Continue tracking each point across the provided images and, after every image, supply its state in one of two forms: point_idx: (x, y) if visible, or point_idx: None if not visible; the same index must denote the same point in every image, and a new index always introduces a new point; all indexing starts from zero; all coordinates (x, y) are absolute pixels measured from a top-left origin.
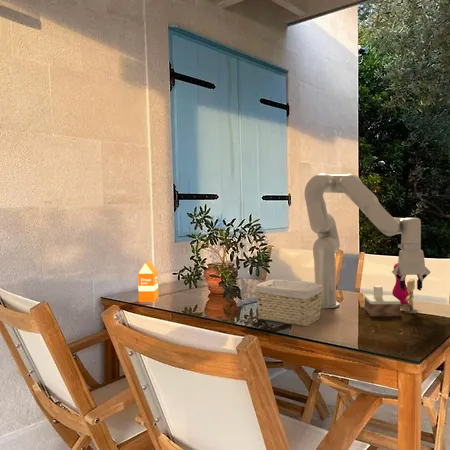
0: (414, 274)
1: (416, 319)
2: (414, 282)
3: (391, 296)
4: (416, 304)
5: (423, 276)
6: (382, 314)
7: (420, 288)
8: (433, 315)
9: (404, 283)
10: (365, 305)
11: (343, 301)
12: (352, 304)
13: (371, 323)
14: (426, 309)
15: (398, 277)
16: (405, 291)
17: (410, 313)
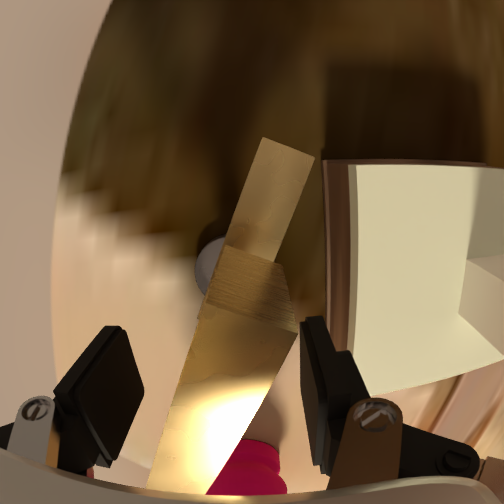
0: (91, 479)
1: (235, 86)
2: (154, 458)
3: (374, 358)
4: None
5: (6, 445)
6: (433, 162)
7: (104, 334)
8: (109, 206)
9: (318, 373)
10: None
11: (472, 425)
12: (469, 393)
13: (478, 30)
14: (132, 346)
15: (436, 443)
16: (222, 490)
17: None
